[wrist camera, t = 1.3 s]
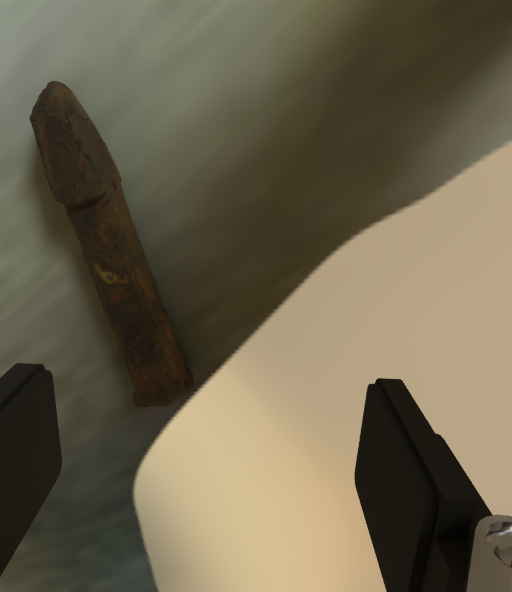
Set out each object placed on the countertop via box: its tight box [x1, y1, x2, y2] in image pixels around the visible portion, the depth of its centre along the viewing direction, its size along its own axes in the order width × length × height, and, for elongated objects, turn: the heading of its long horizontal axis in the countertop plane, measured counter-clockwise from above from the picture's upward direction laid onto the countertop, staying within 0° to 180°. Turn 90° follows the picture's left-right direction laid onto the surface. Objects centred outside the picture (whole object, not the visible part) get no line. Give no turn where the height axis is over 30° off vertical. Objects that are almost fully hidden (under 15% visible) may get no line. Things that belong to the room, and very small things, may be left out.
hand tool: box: [30, 81, 194, 407], centre depth 26 cm, size 19×4×5 cm, turn 12°
